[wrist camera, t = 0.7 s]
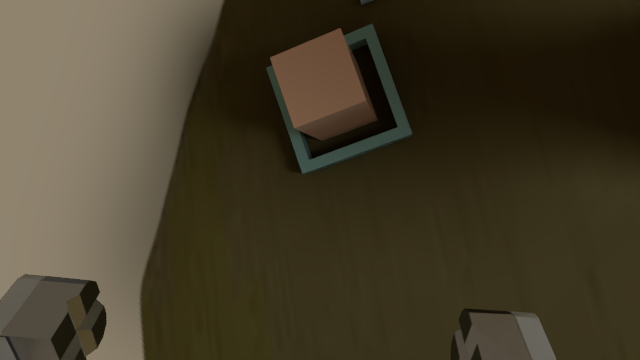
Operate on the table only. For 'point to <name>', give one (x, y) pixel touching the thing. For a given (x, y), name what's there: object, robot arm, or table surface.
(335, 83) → the brown tall block
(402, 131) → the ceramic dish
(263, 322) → the table surface
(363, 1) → the rubber mat
